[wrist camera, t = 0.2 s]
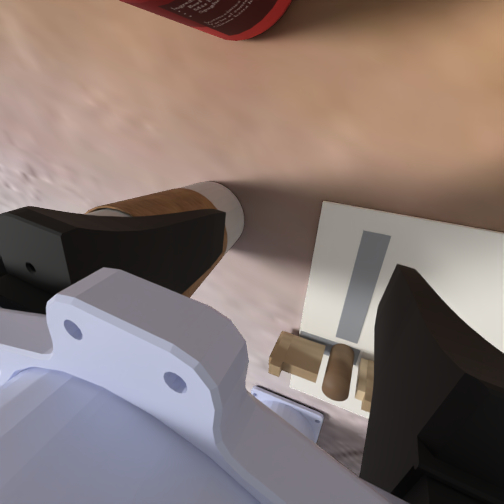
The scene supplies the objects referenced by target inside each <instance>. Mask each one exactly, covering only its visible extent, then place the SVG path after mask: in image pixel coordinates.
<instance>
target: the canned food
mask: <svg viewBox="0 0 504 504" xmlns="http://www.w3.org/2000/svg"><path fill="white" fill-rule="evenodd" d="M120 1H122V2H125V3H128V4H130V5H133V6H136V7H138V8H141V9H144V10H147V11H149V12H152V13H155V14H157V15H160V16H163V17H166V18H168V19H171V20H174V21H176V22H179V23H182V24H184V25H187V26H190V27H193V28H195V29H198V30H201V31H203V32H206V33H209V34H212V35H214V36H217V37H220V38H223V39H225V40H234V41H239V40H245V39H249V38H252V37H254V36H256V35H259V34H261V33H263V32H265V31H266V30H267V29H269V28H270V27H271V26H273V25H274V24H275V23H276V22H277V21H278V20H279V19H280V18H281V17H282V15H283V14H284V13H285V11H286V10H287V8H288V6H289V5H290V3H291V2H292V0H120Z"/></svg>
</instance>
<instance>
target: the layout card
mask: <svg viewBox="0 0 504 504" xmlns="http://www.w3.org/2000/svg"><path fill="white" fill-rule="evenodd" d="M397 264H400V265H404V266H407V267H410V268H414V269H416V270H417V271H418V272H419V273H420V274H421V276H422V277H423V278H424V279H425V280H426V281H427V283H428V284H429V285H430V286H431V287H432V288H433V290H434V291H435V292H436V293H437V294H438V295H439V296H440V297H441V299H442V300H443V301H444V302H445V303H446V304H447V305H448V306H449V307H450V308H451V309H452V310H453V311H454V312H455V313H456V314H457V315H458V316H459V317H460V318H461V319H462V320H463V321H464V322H465V323H467V324H468V325H469V326H470V327H471V328H472V329H473V330H475V331H476V332H477V333H478V334H479V335H481V336H482V337H483V338H484V339H485V340H487V341H488V342H489V343H491V344H492V345H493V346H494V347H496V348H497V349H499V350H500V351H501V352H503V353H504V233H503V232H498V231H492V230H486V229H481V228H475V227H469V226H464V225H458V224H453V223H447V222H441V221H436V220H430V219H425V218H419V217H413V216H408V215H402V214H397V213H391V212H385V211H380V210H374V209H368V208H363V207H357V206H352V205H346V204H340V203H335V202H329V201H323V204H322V209H321V215H320V220H319V226H318V231H317V237H316V242H315V248H314V253H313V259H312V264H311V270H310V276H309V281H308V287H307V292H306V298H305V303H304V309H303V314H302V320H301V325H300V331H299V337H302V338H304V339H307V340H310V341H313V342H316V343H319V344H322V345H325V350H324V354H323V358H322V362H321V365H320V369H319V373H318V376H317V380H316V383H314V382H311V381H309V380H306V379H304V378H301V377H298V376H296V375H293V374H292V375H291V381H290V386H289V387H290V388H292V389H295V390H297V391H300V392H302V393H305V394H307V395H310V396H312V397H315V398H317V399H320V400H322V401H325V402H327V403H330V404H332V405H335V406H337V407H340V408H342V409H345V410H347V411H350V412H352V413H355V414H357V415H360V416H362V417H365V418H367V419H369V415H370V413H369V412H366V411H364V410H361V405H362V401H361V400H358V399H356V398H355V390H356V383H357V375H358V367H359V363H360V360H361V358H363V359H366V360H371V361H374V326H375V320H376V314H377V308H378V305H379V302H380V300H381V298H382V296H383V294H384V291H385V289H386V287H387V285H388V283H389V280H390V278H391V276H392V274H393V272H394V269H395V267H396V265H397ZM340 343H342V344H346V345H348V346H350V348H352V350H353V351H354V354H355V356H354V363H353V370H352V376H351V383H350V390H349V396H348V398H347V399H346V400H345V401H334V400H331V399H329V398H328V397H327V396H325V395H324V393H323V392H322V383H323V379H324V375H325V371H326V367H327V363H328V359H329V355H330V351H331V348H332V346H333V345H335V344H340Z"/></svg>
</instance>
